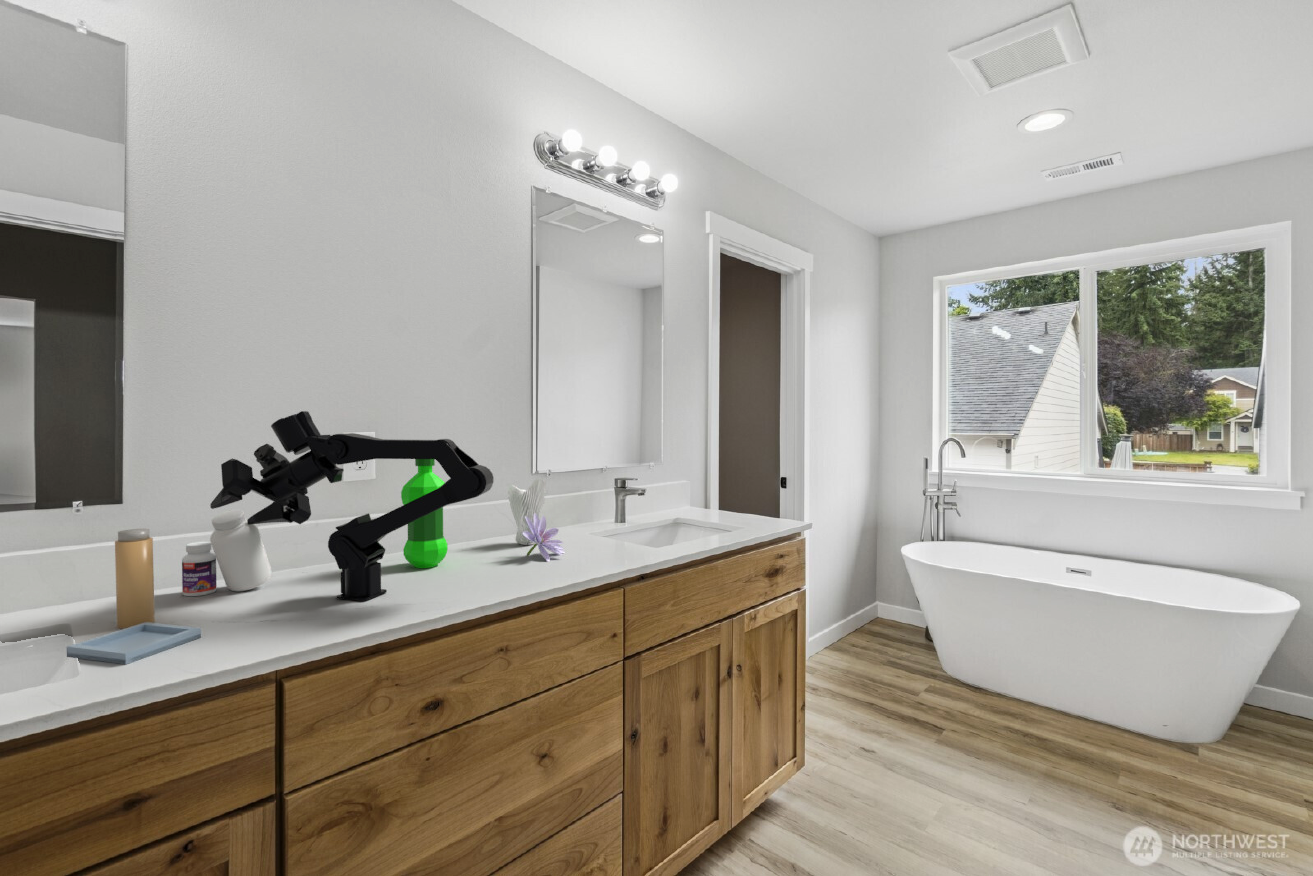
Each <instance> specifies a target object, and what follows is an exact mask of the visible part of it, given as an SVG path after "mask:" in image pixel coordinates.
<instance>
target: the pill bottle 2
mask: <svg viewBox="0 0 1313 876" xmlns="http://www.w3.org/2000/svg"><path fill="white" fill-rule="evenodd" d="M247 520H248V519H247V518H246V515H245V511H243V510H242V509H230V510H225V511H222V512H220V513H218V514H217V515H215V516H213V518H212V519H211V524H212V527H213V528H214V531H213V532H212V533H211V535H210V538H209V542H211V549H212V550H213V553H214V554H215V556H216V562H217V564H218V567H219V569H220V572H221V574H222V578H223V580H224V582H225V583H224V584H225V585H226V587H227V588H228V590H229V591H233V592H244V591H248V590H252V589H255V588H257V587H259V586H262V585H263V584H265V583H266V582H268V580H269V579H270V578H271V577H272V573H273V572H272V567H271V563H270V561H269V559H268V558H269V557H268V555H267V551H266V548H265V546H264V542H263V540H262V536H261V533H260V531H259V528H258V526H257V524H248V523H247Z"/></svg>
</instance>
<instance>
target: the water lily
mask: <svg viewBox="0 0 1313 876" xmlns="http://www.w3.org/2000/svg"><path fill="white" fill-rule="evenodd" d="M525 519H526V523H527V528H529V530H530V532H531V533H532V534H531V533H529V532H528V531H524V532H523V535H524V536H525V538H527V539H528V540H529V541H531V542H534V543H535V544H533V545H532V546H531V548H529V550H528V551H527V553H526V556H530V555H531V553H532V551H533V550H534V549H535V548H536V547H538V551H539V553H540V555H541V557H543V559H544V560H545V561H546V562H547V563H548V562H550V560H551V557H550V554H549V553H548V551H550V552H552V553H554V554H556V555H560V556H563V554H565V551H564V550H565V548H563V546H561V545H562V544H564V542H563V540H559V539H553V538H554V537H556V536H557V535H558V533H559V532H560V531H559V528H557V527H551V528H549V529H546V528H547V519H546V516H545V515H542V516H541V518H540V517H539V518H538V516H537V514H536V513H534V516H533V523H532V522H531V520H530V519H529V518H528V517H526V516H525ZM547 550H548V551H547Z"/></svg>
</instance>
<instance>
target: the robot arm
mask: <svg viewBox="0 0 1313 876" xmlns="http://www.w3.org/2000/svg"><path fill="white" fill-rule="evenodd" d="M270 427H271V429H272V430H273V432H274V434H275V436H276V437H277V439H278V441H279V442H280V444H281V447H283V449H284V451H285V453H287V454H288V453H293V454H294V455H295V456H298V455H300V456H299V457H297V458H296V459H294V460H292V461H289V459H288V458H287V457H285V455H283V454H282V453H279V452H278V451H277V450H276V449H274V448H275V447H274V446H273V445H270V444H269V443H265V444H263V445H261V446H259V447H258V448H256V450H254V452H253V455H254V458H256V462H257V463H259V465H260V466H261V467H262V468H263V469H260V471H259V473H260V476H261V477H262V478H261V479H260V480H258V479H257V478H254V477H253V476H254V474H253V473H254V472H253V467H252V466H251V465H248V464H246V463H244V462H243V461H241V460H238V459H237V458H236V459H235V458H232V457H231V458H230V459H228V460H226V461H225V462H223V463H221V466H220V467H221V481H222V482H221V483H222V489H221V490H220V491H219V492H218V494H217V495H216V496H215V497H214V498H213V500H212V501H211V503H210V505H209V506H210V509H212V510H214V509H218V508H221V507H224V506H228V505H231V504H234V503H237V502H240V501H242V500H243V496H246V495H247V494H249V493H250V492H252V493H255V494H257V495H259V496H262V497H264V499H265V498H266V499H268V500H270V501H272V503H271V504H268V505H267V506H266V507H264V508H263V509H260V510H259V511H258V512H256V513H254V514H252V515H251V516H249V518H248V519H247V523H248V524H256V525H257V524H258V525H259V524H270V523H289V524H291V523H296V524H298V525H301V524H303V523H305V522H306V521H308V520H309V519H310V517H311V516H312V510H311V504H310V497H309V496H308V495H307V494H309V492H308V488H310V487H312V486H313V485H315V484H317V483H319V482H320V481H322V480H325V478H327V480H328V482H329V483H330V484H335V483H339V482H342V480H343V473H344V471H345V470H344V468H341V467H339V466H338V465H341V466H342V465H346V464H347V465H348V464H353V463H358V462H364V461H365V462H366V461H371V460H372V461H373V460H378V459H379V460H387V459H388V460H415V459H435V461H436V462H437V463H438V464H439V465H440V466H441V468H442V469H443V471H444V472H445V474H446V475H447V476H448V477H449V479H448V480H447V481H444V482H445V483H444V484H443V485H442V486H441V487H439V488H438V489H436V490H434V491H432V492H430V493H428V494H426V495H424V496H422V497H419V498H417V499H415V500H413V501H411V502H409V503H407V504H405V505H404V504H403V505H400V506H398V507H397V508H395V509H393V510H391V511H388V512H386V513H385V514H383V515H381V516H379V517H376V518H371V515H370V513H365V514H362V515H360V516H357V517H355V518H353V519H351V520H350V521H349V522H346V523H343V524H340V525H337V526H335V529H336V530H335V531H334V532H332V533H331V534H330V535H329V539H328V541H327V549H328V551H329V552H330V554H331V555H332V556H333V558H334V559H335V562H336V564H337V567H338V569H339V570H341V572H340V594H338V595H335V596H336V597H335V599H337V600H348V601H360V602H365V601H368V600H371V599H373V598H376V597H377V596H378V597H379V596H380V595H384V594H386V593H387V589H385V588H384V589H383V588H382V563H381V562H378V561H380V560H383V559H384V555H385V552H386V548H385V547H384V546H383V545H382V544H381V543H380V541H381V540H382V539H384V538H385V537H386V536H387V535H388V534H391V533H392V532H394V531H396V530H398V529H401V528H402V527H405V526H406V525H407V526H408V524H409V523H411V522H413V521H415V520H417V519H419V518H421V517H423V516H425V515H427V514H429V513H431V512H434V511H436V510H438V509H440V508H442V507H443V508H444V507H446V506H448V505H452V504H457V503H460V502H464V501H467V500H470V499H471V500H472V499H475V498H477V497H479V496H481V495H483V494H486V493H487V492H489V491H491V489H492V487H493V484H494V475H493V472H492V471H491V469H490V468H488V467H487V466H485V465H481V464H479V463H478V462H477V461H476V460H475V459H474V458H473V457H471V456H470V455H469V454H467V453H466V452H465V451H464V450H462V449H461V448H460V447H459V446H458V445H457V444H456V443H455V441H453V440H452V439H449V438H441V439H392V438H391V439H387V438H385V439H384V438H378V437H374V436H370V435H366V434H360V433H353V432H351V433H336V434H321V432H320V431H319V430H318V428H317V426H316V423H315V422H314V421H313V418H312V416H311V414H310V412H309V411H307V410H303V411H302V410H301V411H299V412H297V413H294V414H291V415H288V416H286V417H280V418H279V419H277V420H276V421H274V422H273V423H272V424H271V425H270Z"/></svg>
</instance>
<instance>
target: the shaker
mask: <svg viewBox="0 0 1313 876" xmlns="http://www.w3.org/2000/svg"><path fill="white" fill-rule="evenodd" d="M150 535H151V534H150V529H149V528H133V529H124V530H120V531H117V539H116V540H115V541H114V555H115V556H114V558H115V560H114V561H115V564H114V565H115V594H116V595H115V596H116V598H115V601H116V628H117V629H120V630H122V629H125V628H129V627H132V626H135V625H138V624H142V623H145V622H149V623H155V619H156V617H155V615H156V614H155V613H156V612H155V584H154V582H155V579H154V578H155V576H154V575H155V574H154V540H153V539H154V538H153V537H151V536H150Z"/></svg>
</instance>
